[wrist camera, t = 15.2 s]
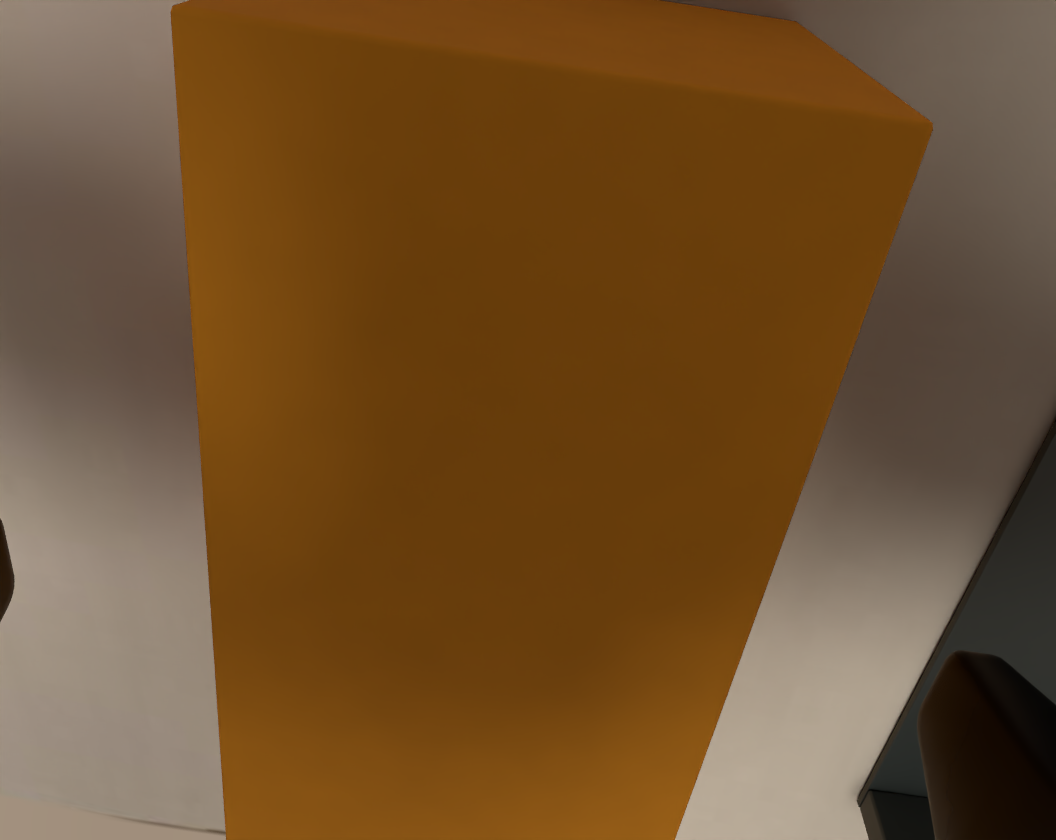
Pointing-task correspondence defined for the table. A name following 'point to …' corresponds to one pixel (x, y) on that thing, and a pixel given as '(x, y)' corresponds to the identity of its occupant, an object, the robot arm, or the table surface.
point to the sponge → (508, 389)
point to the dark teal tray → (981, 644)
